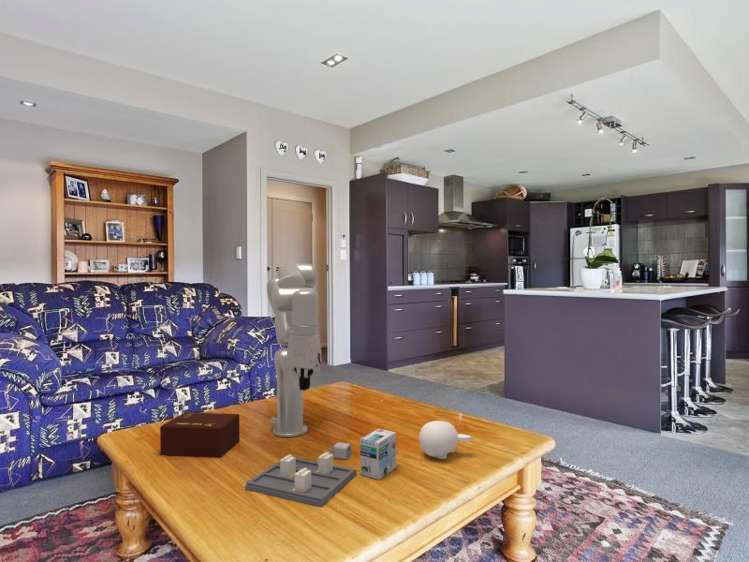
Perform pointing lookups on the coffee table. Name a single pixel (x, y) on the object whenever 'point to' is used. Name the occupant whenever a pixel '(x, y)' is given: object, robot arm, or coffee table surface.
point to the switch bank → (285, 486)
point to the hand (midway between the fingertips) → (304, 389)
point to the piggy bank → (440, 438)
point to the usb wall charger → (341, 450)
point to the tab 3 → (325, 463)
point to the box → (200, 435)
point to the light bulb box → (378, 453)
